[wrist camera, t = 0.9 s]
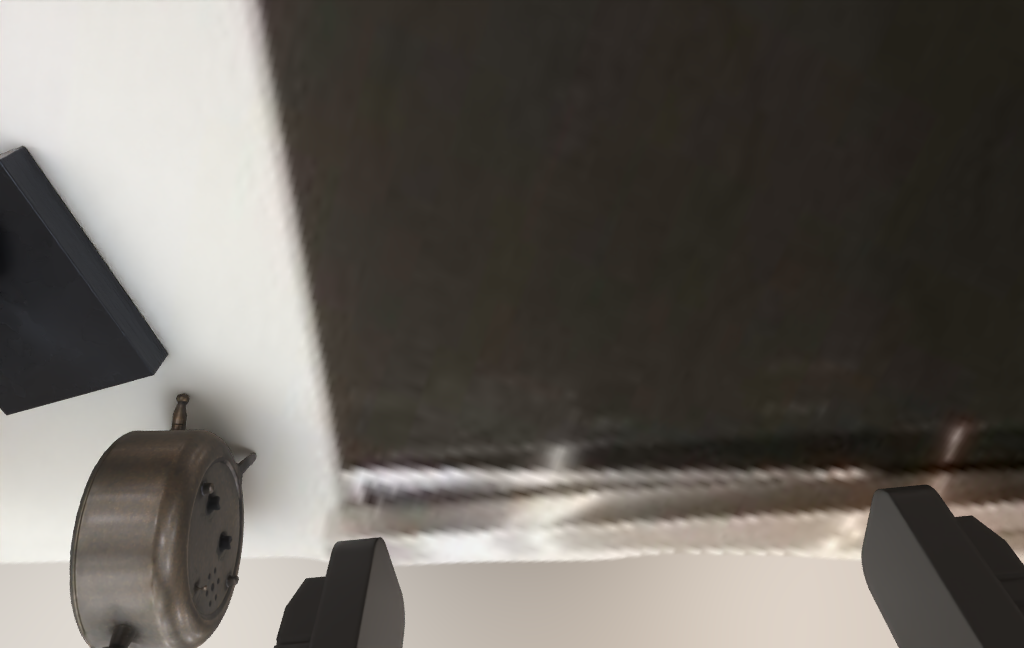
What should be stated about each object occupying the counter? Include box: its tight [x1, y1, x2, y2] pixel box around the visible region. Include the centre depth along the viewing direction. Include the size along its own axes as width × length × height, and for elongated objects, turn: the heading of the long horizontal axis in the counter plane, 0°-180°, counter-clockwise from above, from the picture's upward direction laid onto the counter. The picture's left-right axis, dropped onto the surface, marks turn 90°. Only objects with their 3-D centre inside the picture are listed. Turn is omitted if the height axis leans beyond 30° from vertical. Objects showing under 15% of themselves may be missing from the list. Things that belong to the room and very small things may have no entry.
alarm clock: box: [70, 394, 256, 648], centre depth 35 cm, size 11×5×16 cm, turn 179°
